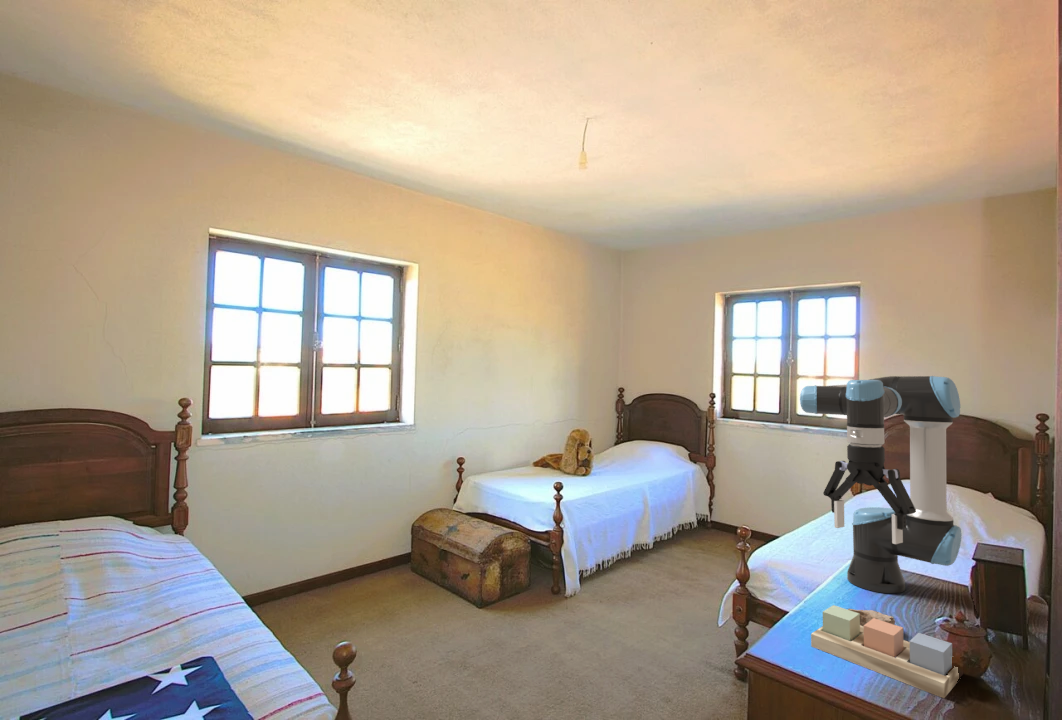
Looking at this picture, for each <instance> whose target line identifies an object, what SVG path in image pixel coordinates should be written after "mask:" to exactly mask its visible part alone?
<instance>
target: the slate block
mask: <svg viewBox="0 0 1062 720" xmlns="http://www.w3.org/2000/svg"><path fill="white" fill-rule="evenodd" d="M909 642H910V663H911V664H914V665H917V666H919V667H922V668H925V669H928V670H930V671H933V672H936V673H939V674H941V675H944V676H947V675H946V674H947V673H948V671H949V670H950V669H951V668H952V657H953V643H952V642H949V641H946V640H942V639H940V638H936V637H934V636H930V635H927V634H925V633H922V632H918V633H917V634H916V635H914V636H913V637H912V638H911V639H910V640H909Z"/></svg>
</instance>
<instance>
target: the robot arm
mask: <svg viewBox="0 0 1062 720" xmlns="http://www.w3.org/2000/svg"><path fill="white" fill-rule="evenodd" d="M799 396H800V397H799V402H800V407H801V409H802V411H803V412H804V413H807V414H815V415H836V416H837V415H838V416H846V434H847V435H846V441H847V443H849V444H847V445H846V448H847V450H846V451H847V454H846V455H847V456H846V457H847V460H848V462H846V461H845V460H839V461H837V460H836V461H835V462H834V463H835V464H834V470H833V472H832V474H831V476H830V478H829V480H828V482H827V484H826V487H824V488H825V489H824V490H823V496H825V497H828V498H829V499H830V501H831V512H832V513H833V516H834V519H833V520H834V528H835V529H840V528H844V527H845V500H844V499H843V496H845V495H846V493H848V492H849V490H850V489H852V487H853V486H854V485H855V484H860V485H861V484H863V485H866V486H870V487H871V486H873V487H874V488H875V489H876V490H877V491H878V492H879V493H880V495H881V496H882V497H883V499H884V500H885V501H886V503H887V505H889V506H890V508H889V507H877V506H876V507H863V508H858V509H856V510H854V512H853V515H852V522H851V524H852V537H853V538H852V540H853V541H852V542H853V546H852V547H853V548H852V549H853V555H852V559H851V561H850V564H849V566H848V569H847V571H846V572H847V575H846V576H847V581H848V582H849V583H851V584H852V585H854V586H855V587H859V588H861V589H863V590H869V591H872V592H876V593H883V594H899V593H903V592H905V591H906V580H905V578H904V575H903V572H902V570H901V568H900V567H901V566H900V564H899V558H898V557H899V556H900V557H904V558H908V559H912V560H916V561H921V562H926V563H930V565H938V566H939V565H940V566H945V567H949V566H951V565H953V564H954V563H955V562H956V560H957V558H958V555H959V551H960V548H961V542H962V529H961V527H960V526H957V525H956V524H954V517H953V516H951V514H950V513H948V510H947V506H948V505H947V503H948V502H947V497H948V496H947V429H948V428H949V427H950V426H951V425H952V424H953V422H954V421H953V419H955V418H958V417H959V416H960V414H961V399H960V395H959V391H958V387H957V386H956V384H955V382H954V381H953V379H951V378H949V377H945V376H935V375H930V376H929V375H928V376H921V375H920V376H918V375H917V376H913V375H912V376H910V375H908V376H905V375H904V376H901V375H899V376H898V375H897V376H896V375H895V376H894V375H892V376H891V375H890V376H883V377H881V376H880V377H876V378H870V379H850V380H848V381H847V382H846V384H836V385H807V386H804V387H803V388H802V390H801V392H800V395H799ZM893 415H903V422H904V423H905V424H907V425H908V426H909V481H910V482H909V487H910V489H909V491H910V492H909V494H910V495H909V494H908V491H907V490H906V488H905V486H904V483H903V482H902V480H901V473H900V470H899V469H898V468H894V469H888V468H887V469H886V468H885V460H886V459H885V458H886V455H885V454H886V453H885V450H886V449H885V447H884V446H883V445H884V444H885V442H886V441H885V418H888V417H891V416H893ZM847 470H848V472H849V475H848V476H846V478H845V480H844V481H843V482H842V483H841V480H842V479H843V477H844V475H845V473H846V471H847ZM884 477H886V478H887V479H888V482H889V483H888V482H887V480H886V479H885V478H884ZM840 483H841V484H840ZM889 484H890V486H891V488H892V489H891V488H890V486H889ZM892 490H893V491H892Z"/></svg>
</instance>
